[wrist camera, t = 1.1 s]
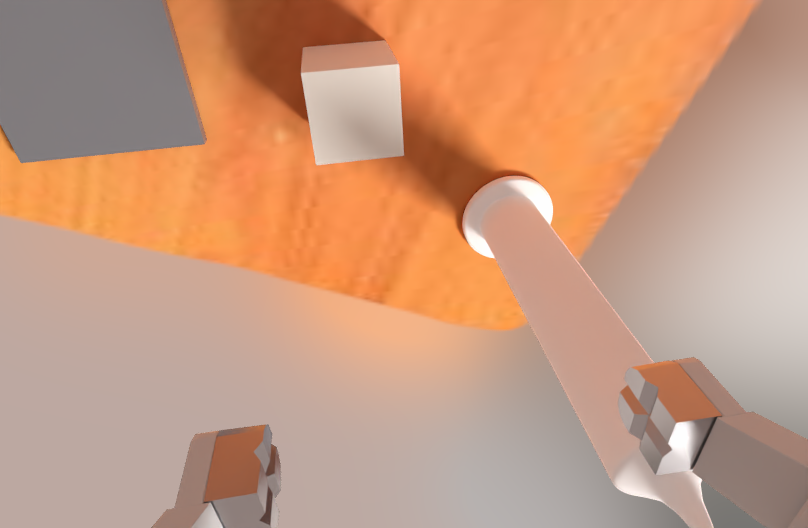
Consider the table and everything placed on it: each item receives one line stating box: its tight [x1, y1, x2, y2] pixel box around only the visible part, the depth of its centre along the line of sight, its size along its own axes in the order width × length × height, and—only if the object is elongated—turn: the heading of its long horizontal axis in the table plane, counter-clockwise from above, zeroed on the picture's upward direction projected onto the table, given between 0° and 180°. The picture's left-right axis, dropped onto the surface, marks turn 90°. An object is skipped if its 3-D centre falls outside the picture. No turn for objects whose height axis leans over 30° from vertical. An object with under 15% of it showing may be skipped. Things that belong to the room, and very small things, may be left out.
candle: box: [462, 176, 714, 528], centre depth 29 cm, size 7×7×25 cm
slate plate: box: [0, 0, 207, 163], centre depth 28 cm, size 11×11×1 cm
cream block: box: [301, 40, 404, 165], centre depth 29 cm, size 5×5×6 cm
